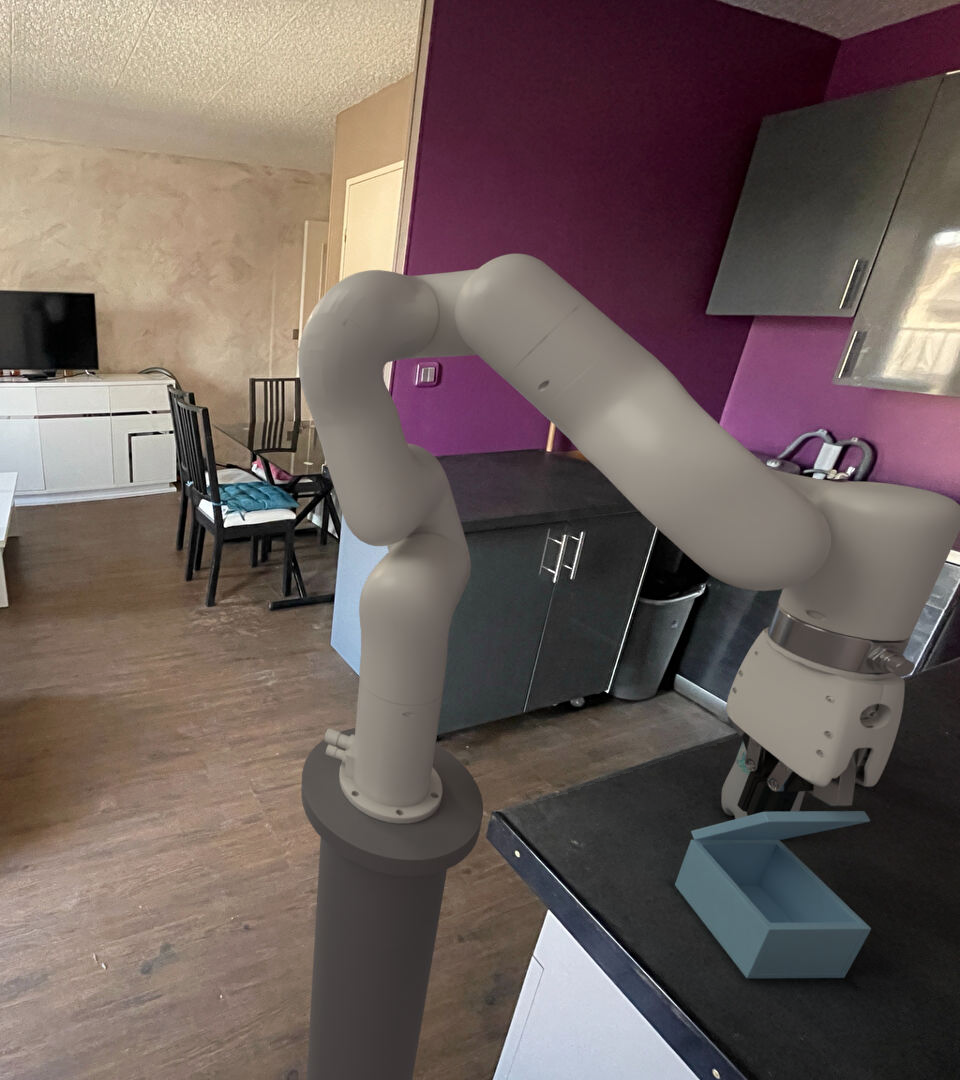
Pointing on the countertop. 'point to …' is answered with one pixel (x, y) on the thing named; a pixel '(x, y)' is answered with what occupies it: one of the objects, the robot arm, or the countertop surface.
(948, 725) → the countertop surface
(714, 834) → the cooler lid
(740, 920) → the box
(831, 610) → the robot arm
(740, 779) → the bottle
